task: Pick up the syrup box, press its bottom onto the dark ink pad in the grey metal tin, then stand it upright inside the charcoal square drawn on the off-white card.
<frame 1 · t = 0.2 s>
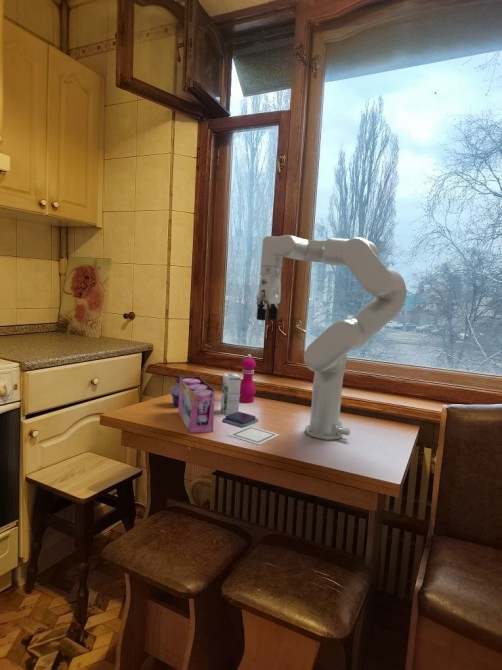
hand: (266, 319, 147), 36 cm above the table, tool pointing down, fingers open, 9 cm apart
marked card: (254, 435, 131), on the table
pepper mill: (246, 401, 172), on the table
ink pad: (240, 421, 144), on the table
gum box: (194, 422, 141), on the table
syrup box: (229, 412, 155), on the table
potion bottle: (180, 405, 160), on the table
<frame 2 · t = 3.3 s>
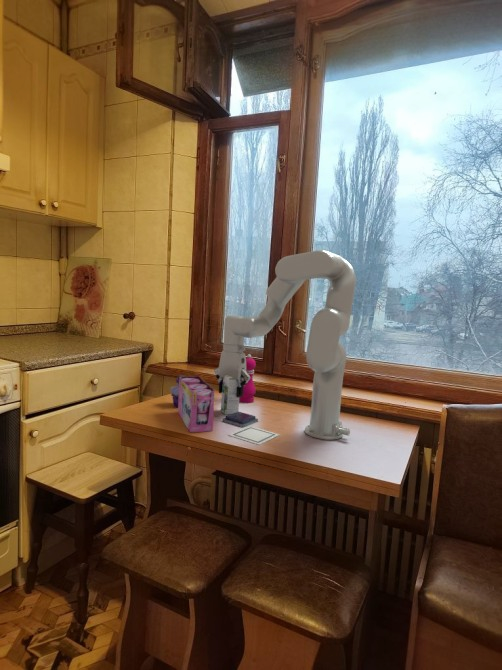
hand: (230, 394, 154), 7 cm above the table, tool pointing down, fingers closed on syrup box, 7 cm apart
syrup box: (229, 412, 155), on the table, touching gripper
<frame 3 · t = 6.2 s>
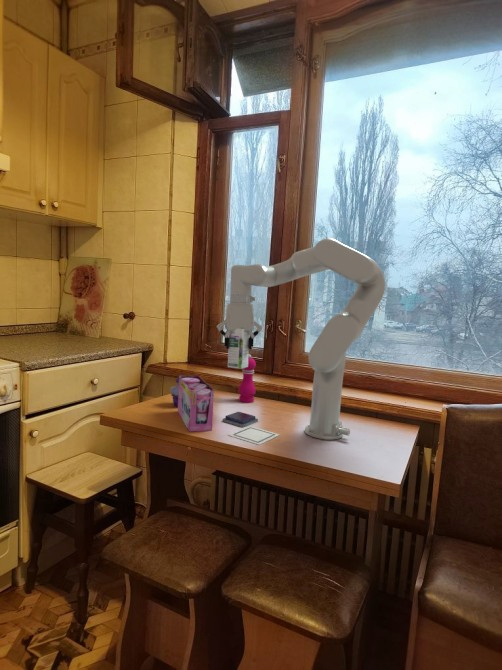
hand: (238, 348, 148), 25 cm above the table, tool pointing down, fingers closed on syrup box, 7 cm apart
syrup box: (237, 367, 148), point 18 cm above the table, touching gripper
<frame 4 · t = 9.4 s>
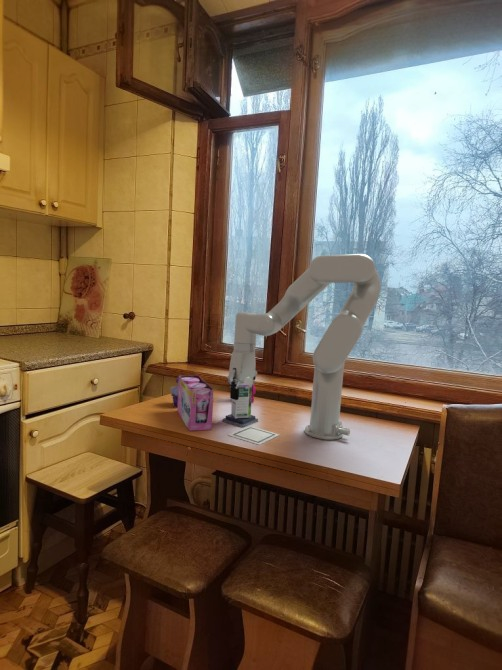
hand: (241, 396, 143), 9 cm above the table, tool pointing down, fingers closed on syrup box, 7 cm apart
syrup box: (240, 416, 144), point 2 cm above the table, touching gripper, ink pad
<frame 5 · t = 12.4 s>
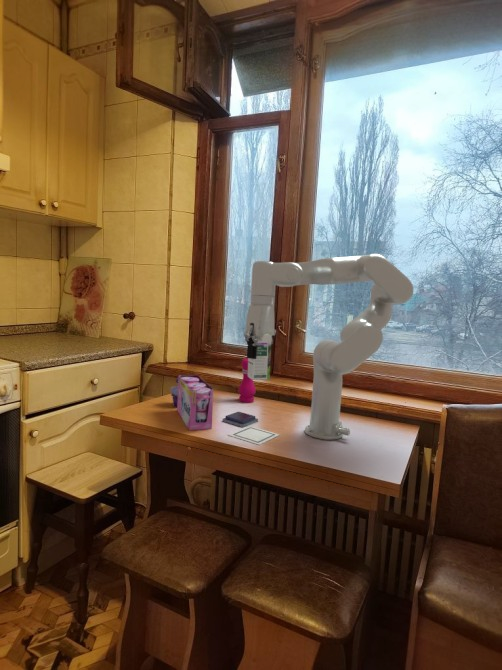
hand: (259, 356, 129), 26 cm above the table, tool pointing down, fingers closed on syrup box, 7 cm apart
syrup box: (258, 378, 130), point 18 cm above the table, touching gripper
when the fingers open (8 cm above the table, at t = 15.4 s): syrup box drops 1 cm, resting on marked card.
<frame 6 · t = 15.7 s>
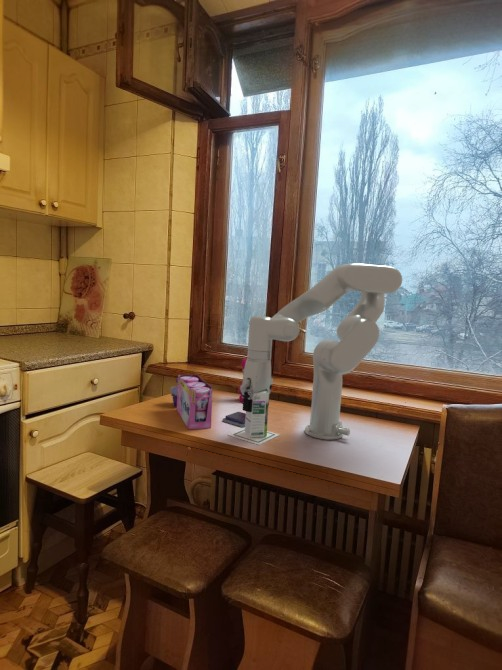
hand: (256, 408, 130), 9 cm above the table, tool pointing down, fingers open, 9 cm apart
syrup box: (255, 435, 131), resting on marked card
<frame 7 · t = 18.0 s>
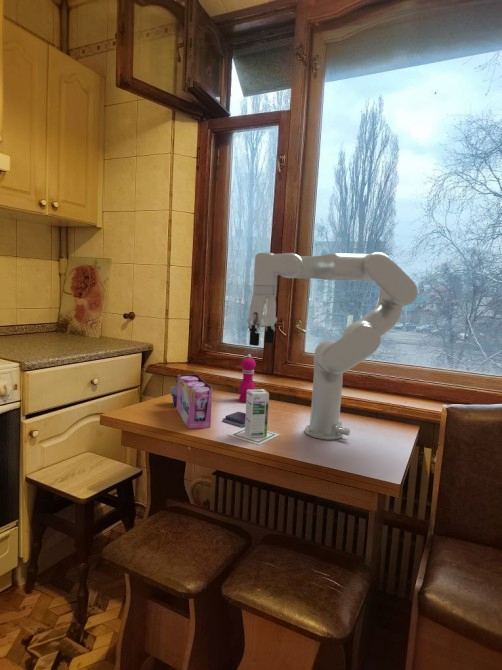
hand: (261, 344, 133), 29 cm above the table, tool pointing down, fingers open, 9 cm apart
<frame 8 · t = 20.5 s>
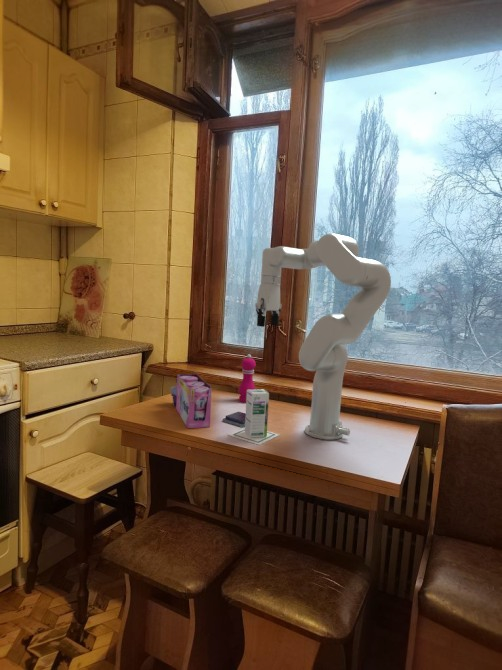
hand: (267, 325, 157), 33 cm above the table, tool pointing down, fingers open, 9 cm apart
at the end: syrup box 0.4 cm off-centre on the marked card, point 0.0 cm above the marked card's base; syrup box tilted 0°; the gripper is holding nothing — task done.
